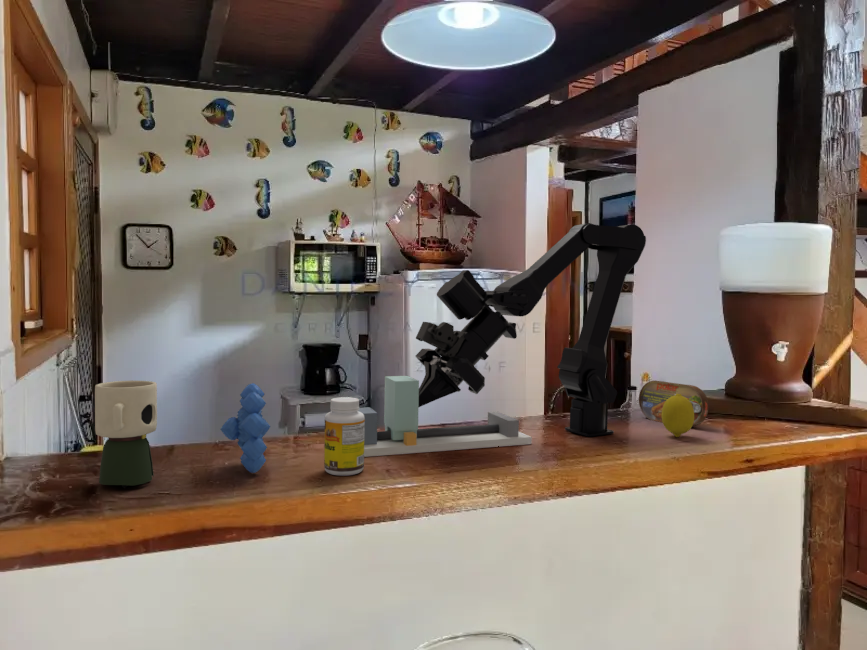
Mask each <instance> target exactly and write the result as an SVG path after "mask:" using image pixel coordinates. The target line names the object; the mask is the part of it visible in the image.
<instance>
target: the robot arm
mask: <svg viewBox="0 0 867 650" xmlns="http://www.w3.org/2000/svg"><path fill="white" fill-rule="evenodd" d="M646 243H647V236H646V235H645V234H644V231H643V230H642V228H641V227H640V226H638V225H637V224H625V225H619V226H618V225H617V226H613V225H612V226H611V225H599V224H594V223H591V222H588V223H581V224H575V225H574V226H572V227H571V228H570V229H569V230H568V232H567V233H565V235H564V236H563V237H561V239H559V240H558V241H557V242H556V243H555V244H554V245H553V246H552V247H550V248H549V249H548V250H547V251H546V252H544V254H543V255H542V256H541V257H540V258H539V259H537V260H536V261H535V262H534V263H533V264H532V265H531V266H530V267H528V268H527V269H525V270H524V271H522V272H520V273H518V274H516V275H514V276H512V277H510V278H509V279H506V280H505V281H503V282H502V283H499V284H498V285H497V286H496V287H495V288H494V290H485V289H484V288H483V287H482V285H481V284H480V283H479V282H478V281H477V280H476V278H475V276H474V274H473V273H472V272H471V271H470V270H468V269H467V270H465V269H464V270H462V271H460V273H459V274H456V275H455V276H454V277H452V278H451V279H449V280H447V281H445V282H444V283H443V284H442V285H441V287H440V288H439V289H438V290H437V293H436V297H438V299H439V300H440V302H442V303H443V304H444V306H446V307H447V309H448V310H449V311H450V312H451V313H452V314H453V315H454V316H455V318H456V319H457V320H463V319H465V320H466V321H469V320H470V321H469V322H468V323H467V324H466V325H465V326H464V327H463V328H462V329H461V330H455V329H454V325H453V324H450V323H449V322H445V321H443V322H441V323H439V324H438V325H437V324H435V323H432V322H429V321H422V323H421V326H420V328H419V329H418V332H417V335H416V337H415V339H416V340H418V341H419V342H424V343H427V344H428V345H430V346H432V347H434V349H431V348H421V349H420V350H419V352H417V353H416V355H415V358H416V359H417V360H418V361H419V363H421V365H423V367H424V370H425V372H424V373H425V374H424V378H423V379H422V382H421V384H420V385H419V408H420V407H422V406H425V405H428V404H430V403H432V402H434V401H437V400H439V399H441V398H444V397H446V396H450V395H452V394H454V393H457V392H458V393H459V392H461V389H462V388H460V387H459V386H460V385H461V384H462V383H463V382H465V384H466V385H468V388H467V389H468V391H469V392H470V393H473V394H475V395H478V394H479V392H480V391H481V390H482V389H483V388H484V387H485V379H486V377H485V376H484V375H483V374H482V373H481V372H480V371H479V370H478V368H476V365H477V363H479V361H480V360H482V361H486V359H487V358H489V355H488V351H489V350H490V349H491V348H492V347H493V346H494V345H495V344H496V343H497V342H498V340H500V338H501V337H503V336H504V337H505V338H508V339H514V340H515V339H517V335H518V334H517V330H516V328H517V323H515V322H510V321H508V320H507V318H506V317H505V316H510V317H525V316H527V315H529V314H530V313H531V312H532V311H533V310H534V308H535V307H536V306H537V305H538V303H539V302H540V301H541V299H542V297H543V294H544V292H545V290H546V289H547V287H548V286H549V285H550V283H552V282H553V281H554V280H555V279H556V278H557V277H558V276H559V275H560V274H561V273H562V272H563V271H565V270H566V269H567V268H568V267H569V266H570V265H571V264H572V263H573V262H574V261H575V260H577V258H579V256H581V255H582V254H583V253H584V252H585V251H587V249H589V250H593V251H596V258H597V262H598V267H599V269H598V274H597V277H596V280H595V284H594V287H593V289H592V294H591V297H590V300H589V304H588V307H587V311H586V313H585V317H584V320H583V323H582V327H581V331H580V334H579V336H578V340H577V342H576V343H575V344H574V345H573V346H572V348H571V347H567V346H566V347H564V348H563V349H562V353H561V360H560V362H559V364H558V365H557V369H559V371H558V379H559V381H560V382H561V385H563V387H564V390H565V393H566V396H567V397H570V398H572V399H571V407H570V408H569V426H565V427H564V430H565V431H568V432H571V433H575V434H579V435H581V436H585V437H596V436H604V435H611V434H614V430H612V429H608V421H609V419H608V417H609V404H610V403H615V401H616V397H617V395H618V390H617V389H616V388H615V387H614V386H613V384H611V382H610V381H609V380H608V379H607V377H606V376H607V368H608V362H607V357H606V352H605V351H606V350H605V348H606V344H607V340H608V337H609V334H610V329H611V327H612V323H613V320H614V317H615V313H616V311H617V310H616V309H617V306H618V303H619V300H620V297H621V293H622V289H623V286H624V283H625V280H626V277H627V275H628V273H629V272H630V271H631V270H632V269H633V268H634V266H635V265H636V264H638V262H639V261H640V257H641V255H642V254H643V251H644V249H645V247H646ZM491 307H492V308H493V309H492V308H491Z"/></svg>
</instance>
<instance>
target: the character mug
mask: <svg viewBox="0 0 867 650" xmlns="http://www.w3.org/2000/svg"><path fill="white" fill-rule="evenodd" d="M157 387H158V385H157V382H156V381H153V380H152V381H150V380H116V381H108V382H100V383H97V384H95V386H94V425H95V426H94V431H95V435H97V436H98V437H102V438H107V439H106V441H105V442H104V444H103V447H102V454H101V460H100V466H99V467H100V468H99V477H98V483H99V484H100V485H104V486H105V485H106V486H121V487H122V488H123V489H125V488H127V487H128V486H131V487H132V486H138V485H143V484H147V483H148V482H149V483H150V482H151V481H153V478H154V477H155V474H154V467H153V457H152V452H151V445H150V442H149V440H148V438H147V435H149V434H151V433H153V432H155V431H156V430H157V427H158V404H157V403H158V400H157V399H158V397H157V396H158V395H157V394H158V393H157V392H158V388H157Z"/></svg>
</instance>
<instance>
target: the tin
mask: <svg viewBox="0 0 867 650" xmlns="http://www.w3.org/2000/svg"><path fill="white" fill-rule="evenodd" d="M676 394H681V395H682V396H684V397H685V398H687V399H688V400H689V401H690V402H691V404H692V406H693V409H694V423H693V426H692V427H696V426H699V425H701V424H702V423H703V422H704V421H705V420H706V419H707V418H708V417H707V416H708V413H709V406H710V405H709V399H708V397H707V395H706V393H705V392H704V390H702V389H701V388H699V387H698V386H696V385H693V384H692V385H691V384H684V383H677V382H670V381H669V382H668V381H662V380H650V381H647V382H646V383H645V384H644V385H642V387H641V389H640V391H639V395H638V405H639V409H640V410H641V412H642V414H643V415H644V417H646V418H647V419H648V420H650V421H653V422H658V423H662V424H663V422H662V408H663V405H664V403H665V401H666V400H667V399H668V398H670V397H672V396H675V395H676Z"/></svg>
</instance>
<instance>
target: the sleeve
mask: <svg viewBox="0 0 867 650" xmlns="http://www.w3.org/2000/svg"><path fill="white" fill-rule="evenodd" d="M419 388H420V380H418V379H416V378H413V377H411V376H408V375H392V376H391V375H388V376H387V375H386V376H384V403H383V404H384V409H383V410H384V411H383V412H384V413H383V425H384V431H391V439H392V440H404V432H414V433H416V439H417V430H418V429H419V408H420V407H419Z"/></svg>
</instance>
